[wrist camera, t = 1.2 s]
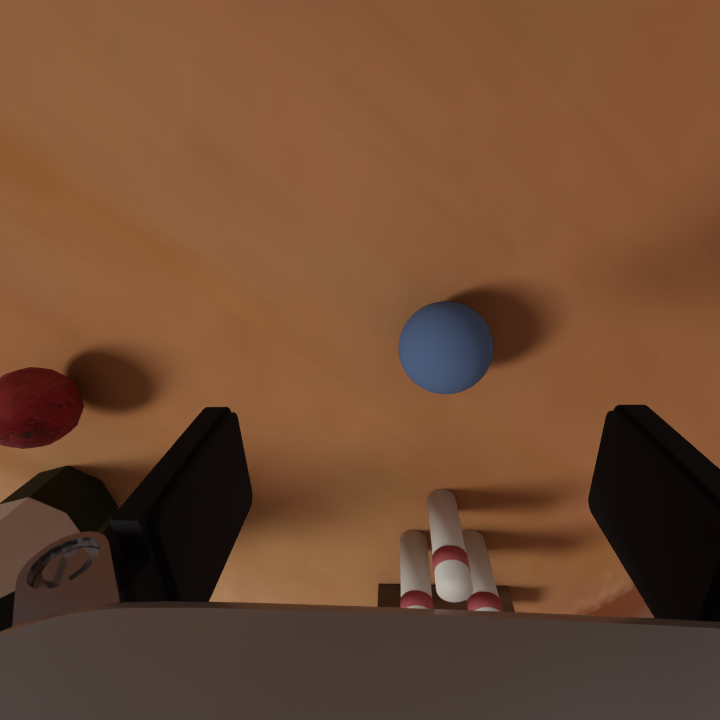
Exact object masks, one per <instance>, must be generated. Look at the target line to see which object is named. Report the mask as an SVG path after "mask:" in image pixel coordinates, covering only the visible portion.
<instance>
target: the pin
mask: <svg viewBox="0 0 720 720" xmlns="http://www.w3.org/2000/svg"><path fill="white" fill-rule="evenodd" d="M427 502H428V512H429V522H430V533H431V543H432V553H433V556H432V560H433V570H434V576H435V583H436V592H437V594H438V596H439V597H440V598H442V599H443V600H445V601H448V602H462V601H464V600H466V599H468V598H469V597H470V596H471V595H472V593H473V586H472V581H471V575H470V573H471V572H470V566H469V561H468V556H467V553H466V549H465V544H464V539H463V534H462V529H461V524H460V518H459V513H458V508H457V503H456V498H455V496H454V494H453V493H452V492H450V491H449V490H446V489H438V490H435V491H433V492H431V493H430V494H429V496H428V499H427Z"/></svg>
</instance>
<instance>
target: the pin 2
mask: <svg viewBox="0 0 720 720" xmlns="http://www.w3.org/2000/svg"><path fill="white" fill-rule="evenodd" d="M462 534H463V539H464V544H465V549H466V553H467V556H468V561H469V566H470V572H471V573H470V575H471V581H472V586H473V593H472V595H471V596H470V597H469V598H468V599H467V609H468V610H473V611H498V612H503V609H502V605H501V601H500V599H499V596H498V592H497V588H496V584H495V580H494V576H493V572H492V568H491V564H490V560H489V556H488V552H487V548H486V545H485V541H484V537H483V536H482V534H480V533H479V532H477V531H473V530H469V531H464V532H462Z"/></svg>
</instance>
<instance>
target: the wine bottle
mask: <svg viewBox="0 0 720 720" xmlns="http://www.w3.org/2000/svg"><path fill="white" fill-rule="evenodd" d="M117 510H118V506H117V504H116V503H115V501H114V500H113V498H112V497H111V495H110V494H109V492H108V491H107V489H106V488H105V486H104V484H103V483H102V481H101V480H99V479H97V478H94V477H92V476H90V475H87V474H85V473H83V472H81V471H78V470H76V469H74V468H71V467H69V466H64V467H60V468H56V469H53V470H49V471H45V472H41V473H39V474H37V475H36V476H35V477H33V478H32V479H31V480H29V481H28V482H27V483H26V484H24V485H23V486H22V487H20V488H19V489H18V490H17V491H15V492H14V493H13V494H11V495H10V496H9V497H8V498H6V499H5V500H4V501H2V502H1V503H0V598H2V597H4V596H6V595H8V594H10V593H12V592H14V591H15V585H16V581H17V578H18V574H19V572H20V571H21V570H22V568H23V567H24V565H25V564H26V563H27V562H28V561H29V560H30V559H31V558H32V557H33V556H34V555H35V554H36V553H38V552H39V551H41V550H42V549H43V548H45V547H46V546H48V545H49V544H51V543H53V542H55V541H57V540H59V539H61V538H63V537H66V536H69V535H72V534H75V533H80V532H87V531H91V532H99V533H101V534H103V532H104V531H105V530H106V529H107V528H108V526H109V525H110V524H111V523H110V521H109V520H110V519H111V518H112V517H113V515H114V514H115V513H116V512H117Z"/></svg>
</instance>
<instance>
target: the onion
mask: <svg viewBox="0 0 720 720" xmlns="http://www.w3.org/2000/svg"><path fill="white" fill-rule="evenodd" d="M83 408H84V404H83V399H82V395H81V392H80V390H79V389H78V387H77V386H76V384H75V383H74V382H72V381H71V380H70V379H69V378H68V377H66V376H64V375H62V374H60V373H58V372H56V371H54V370H51V369H45V368H33V367H29V368H25V369H21V370H17V371H13V372H10V373H7V374H5V375H3V376H2V377H0V445H2V446H7V447H14V448H21V449H26V448H34V447H41V446H45V445H49V444H52V443H53V442H55V441H57V440H59V439H61V438H62V437H63V436H65V435H66V434H68V433H69V432H70V431H71V430H72V429H73V428H75V427H76V426H77V425H78V422H79V419H80V416H81V414H82V411H83Z"/></svg>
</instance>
